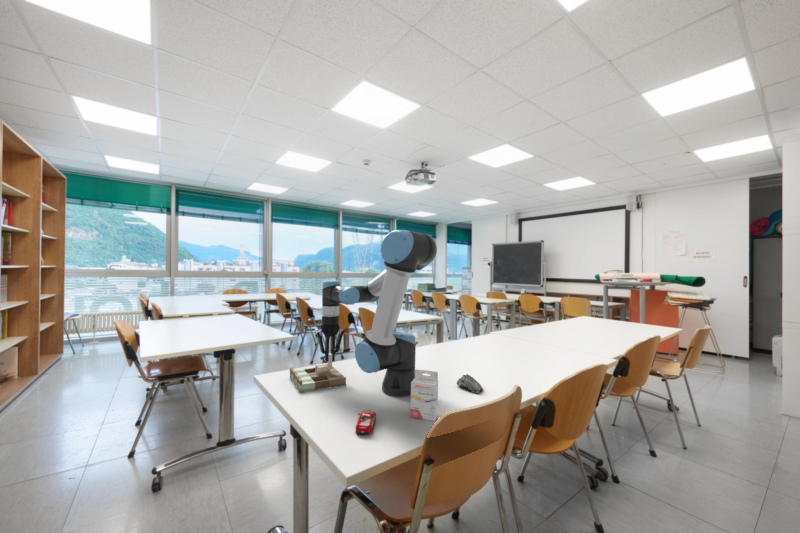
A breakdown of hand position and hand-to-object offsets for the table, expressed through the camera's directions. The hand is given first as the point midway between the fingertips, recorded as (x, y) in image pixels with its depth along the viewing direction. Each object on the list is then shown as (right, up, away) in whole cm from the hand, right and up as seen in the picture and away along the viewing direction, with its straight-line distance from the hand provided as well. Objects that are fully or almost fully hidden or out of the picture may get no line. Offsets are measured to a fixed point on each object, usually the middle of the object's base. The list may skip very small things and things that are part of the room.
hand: (329, 368), depth 145 cm
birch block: (-3, -2, -2) cm, 4 cm away
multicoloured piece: (-5, -5, -3) cm, 7 cm away
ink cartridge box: (+39, -5, -36) cm, 53 cm away
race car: (+21, -5, -43) cm, 48 cm away
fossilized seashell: (+60, -6, -8) cm, 61 cm away
